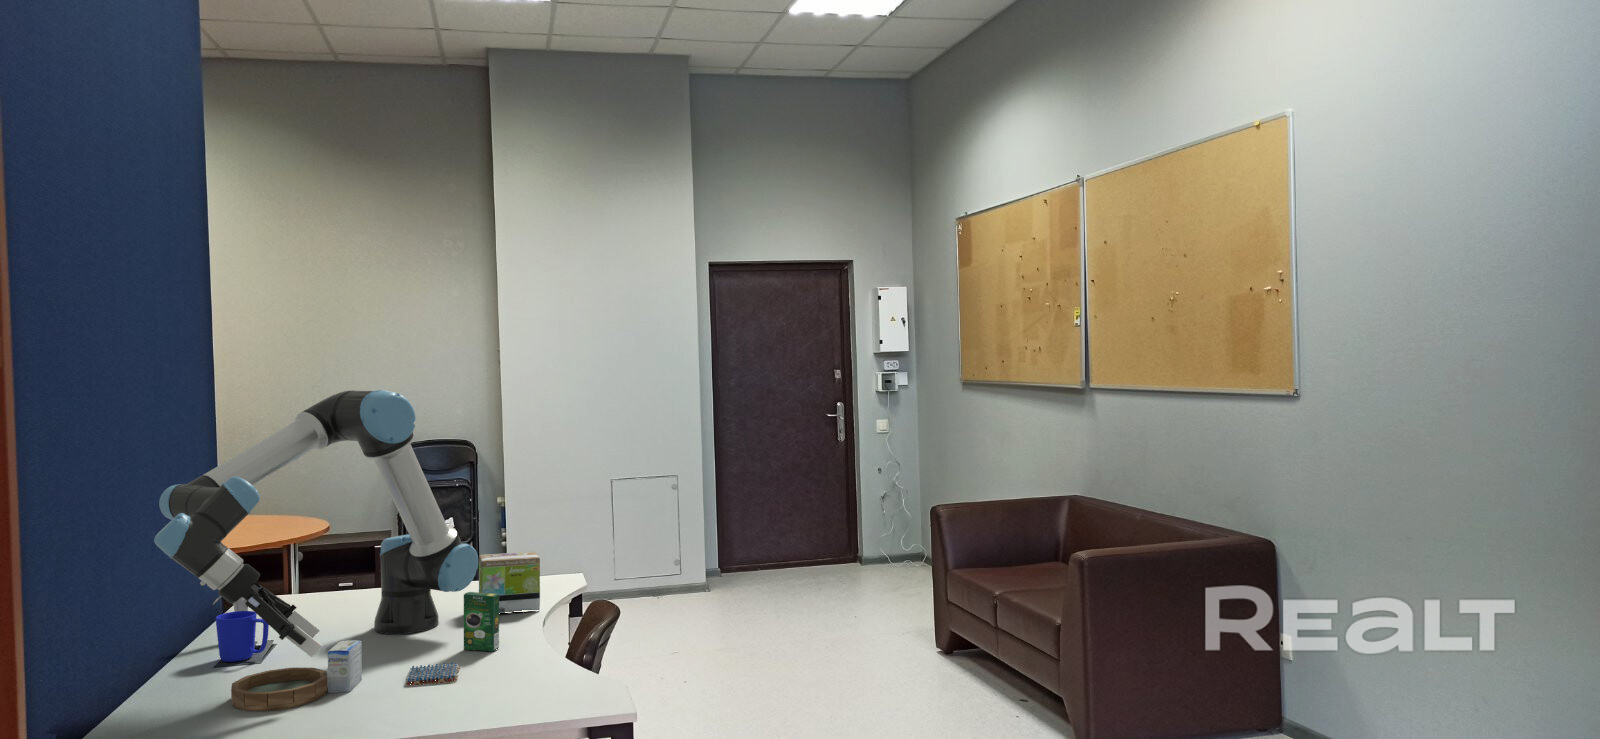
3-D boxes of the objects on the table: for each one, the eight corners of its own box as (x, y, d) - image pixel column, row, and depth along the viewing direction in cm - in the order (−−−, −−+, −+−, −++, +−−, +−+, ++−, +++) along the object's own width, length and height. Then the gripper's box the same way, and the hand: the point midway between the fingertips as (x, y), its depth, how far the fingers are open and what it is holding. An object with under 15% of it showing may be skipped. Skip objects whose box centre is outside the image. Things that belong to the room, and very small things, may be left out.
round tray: (325, 679, 227) (325, 663, 227) (329, 702, 212) (329, 685, 212) (233, 691, 219) (232, 675, 219) (230, 716, 204) (230, 698, 204)
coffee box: (501, 649, 249) (500, 592, 249) (494, 652, 246) (493, 595, 246) (469, 647, 251) (468, 591, 251) (463, 650, 248) (461, 593, 248)
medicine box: (340, 681, 225) (339, 640, 225) (362, 680, 226) (361, 639, 226) (327, 693, 218) (326, 650, 217) (350, 692, 218) (349, 650, 218)
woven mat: (404, 689, 221) (404, 679, 221) (409, 674, 231) (409, 665, 231) (457, 685, 224) (457, 675, 224) (460, 670, 234) (460, 661, 234)
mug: (255, 665, 238) (254, 620, 238) (207, 663, 240) (206, 618, 240) (280, 655, 246) (279, 611, 246) (234, 653, 248) (233, 610, 248)
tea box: (481, 617, 279) (480, 560, 279) (478, 609, 289) (477, 554, 288) (540, 611, 285) (540, 556, 285) (535, 603, 294) (535, 549, 294)
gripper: (218, 580, 222) (300, 643, 229) (212, 604, 199) (302, 674, 206) (247, 552, 224) (326, 615, 231) (244, 573, 202) (332, 643, 208)
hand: (315, 643), depth 219 cm, fingers open, 13 cm apart
